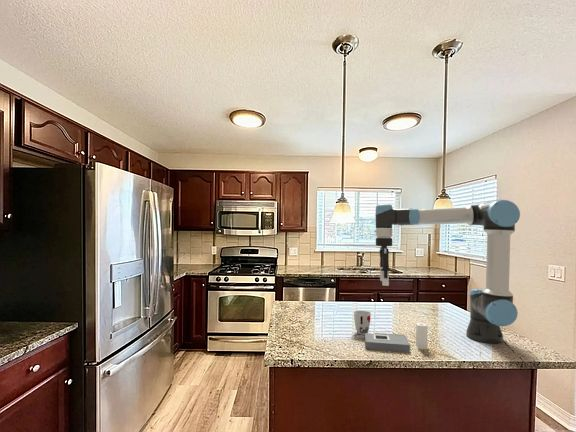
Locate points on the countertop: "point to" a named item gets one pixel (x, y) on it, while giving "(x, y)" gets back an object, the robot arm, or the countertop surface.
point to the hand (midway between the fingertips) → (384, 283)
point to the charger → (421, 336)
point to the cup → (362, 321)
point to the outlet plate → (387, 342)
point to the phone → (390, 334)
